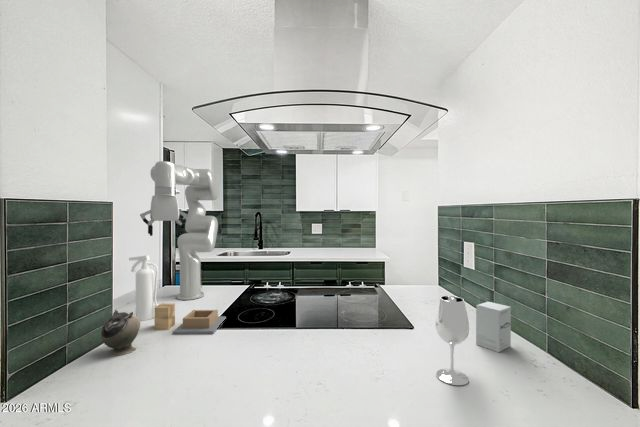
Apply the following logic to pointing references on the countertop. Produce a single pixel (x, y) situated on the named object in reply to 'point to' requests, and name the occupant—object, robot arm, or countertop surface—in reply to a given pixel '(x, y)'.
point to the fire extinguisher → (145, 288)
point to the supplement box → (493, 326)
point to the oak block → (164, 316)
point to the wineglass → (452, 334)
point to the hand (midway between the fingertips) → (164, 235)
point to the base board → (200, 322)
